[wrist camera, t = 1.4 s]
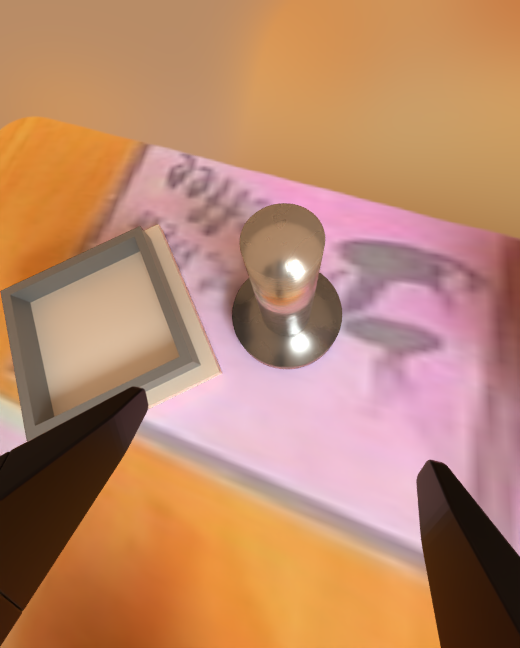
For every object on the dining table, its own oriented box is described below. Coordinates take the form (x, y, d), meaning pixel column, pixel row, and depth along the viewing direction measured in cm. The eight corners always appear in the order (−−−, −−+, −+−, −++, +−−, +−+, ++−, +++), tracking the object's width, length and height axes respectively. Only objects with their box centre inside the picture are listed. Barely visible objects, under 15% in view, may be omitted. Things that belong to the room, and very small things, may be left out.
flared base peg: (261, 387, 23) (232, 367, 12) (220, 297, 26) (163, 209, 14) (359, 340, 23) (423, 274, 12) (307, 255, 26) (320, 136, 15)
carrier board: (48, 457, 23) (14, 464, 21) (17, 298, 28) (-14, 285, 25) (222, 373, 24) (213, 368, 21) (162, 230, 29) (148, 210, 26)
